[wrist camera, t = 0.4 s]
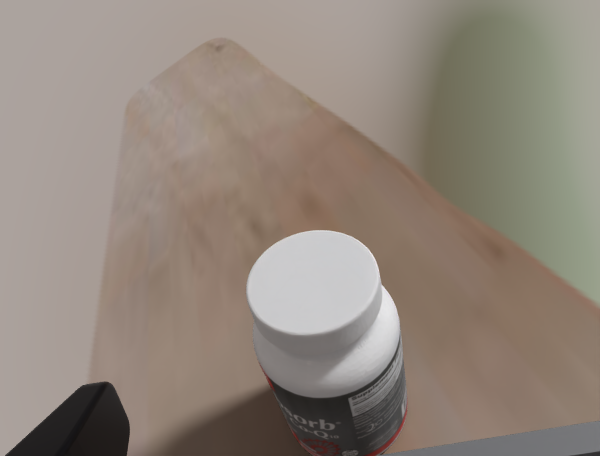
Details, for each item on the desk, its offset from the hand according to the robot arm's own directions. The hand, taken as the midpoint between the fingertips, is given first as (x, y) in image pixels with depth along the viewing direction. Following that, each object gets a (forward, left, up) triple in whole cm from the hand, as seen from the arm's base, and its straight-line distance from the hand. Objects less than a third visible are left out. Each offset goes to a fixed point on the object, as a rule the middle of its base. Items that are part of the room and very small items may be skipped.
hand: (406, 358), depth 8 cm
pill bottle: (+8, +2, -17) cm, 18 cm away
